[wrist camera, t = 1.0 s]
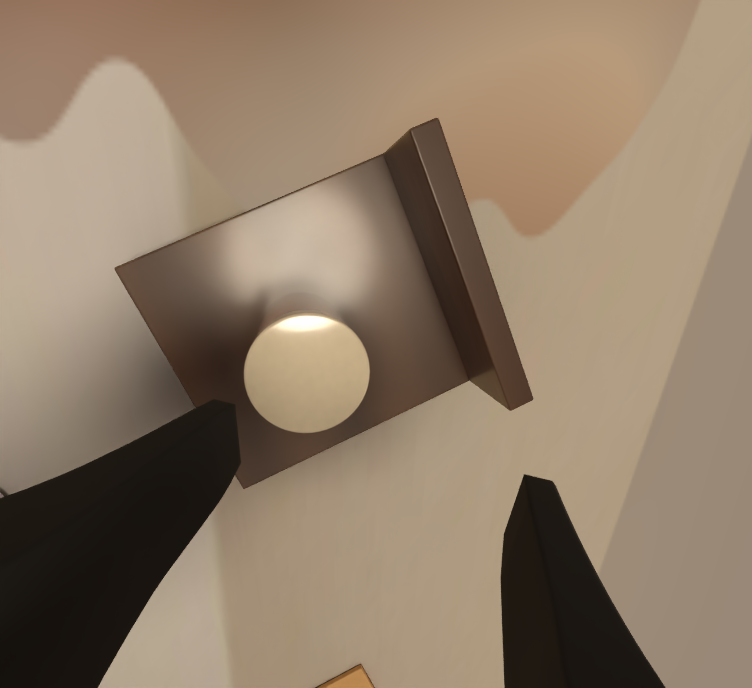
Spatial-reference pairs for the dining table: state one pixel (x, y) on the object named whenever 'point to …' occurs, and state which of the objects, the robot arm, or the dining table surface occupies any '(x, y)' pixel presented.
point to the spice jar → (305, 365)
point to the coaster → (350, 680)
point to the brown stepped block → (338, 294)
